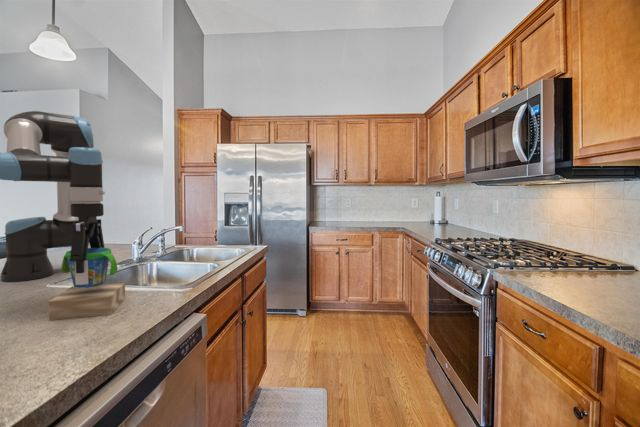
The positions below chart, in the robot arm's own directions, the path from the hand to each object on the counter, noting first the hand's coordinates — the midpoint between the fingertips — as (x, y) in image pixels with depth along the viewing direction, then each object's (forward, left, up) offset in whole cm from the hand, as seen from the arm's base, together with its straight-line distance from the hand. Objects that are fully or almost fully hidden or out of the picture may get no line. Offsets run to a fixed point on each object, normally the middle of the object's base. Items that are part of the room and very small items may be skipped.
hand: (89, 278), depth 89 cm
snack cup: (0, 0, -2) cm, 2 cm away
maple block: (0, 0, -9) cm, 9 cm away
